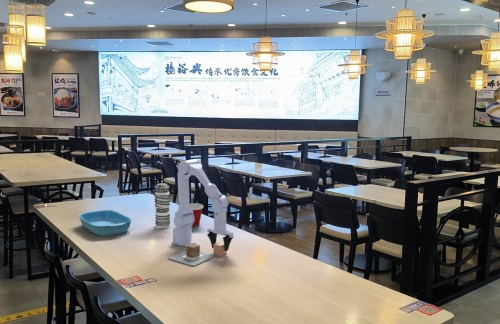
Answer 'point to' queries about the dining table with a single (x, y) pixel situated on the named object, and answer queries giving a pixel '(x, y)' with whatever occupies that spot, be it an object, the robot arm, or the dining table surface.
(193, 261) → the board
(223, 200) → the robot arm
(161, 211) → the white striped cylinder
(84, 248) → the dining table surface
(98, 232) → the casserole dish
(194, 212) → the plastic cup
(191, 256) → the walnut block
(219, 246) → the terracotta block
